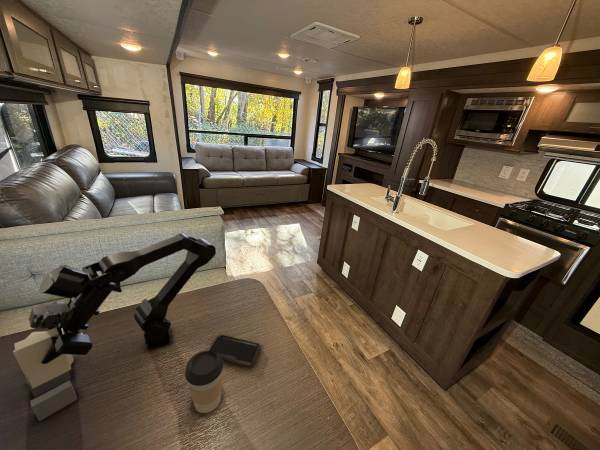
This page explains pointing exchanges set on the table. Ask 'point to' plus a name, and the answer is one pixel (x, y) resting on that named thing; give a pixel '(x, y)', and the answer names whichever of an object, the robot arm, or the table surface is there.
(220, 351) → the phone
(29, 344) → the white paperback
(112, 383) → the table surface
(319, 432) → the table surface
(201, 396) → the coffee cup
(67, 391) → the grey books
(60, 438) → the table surface
